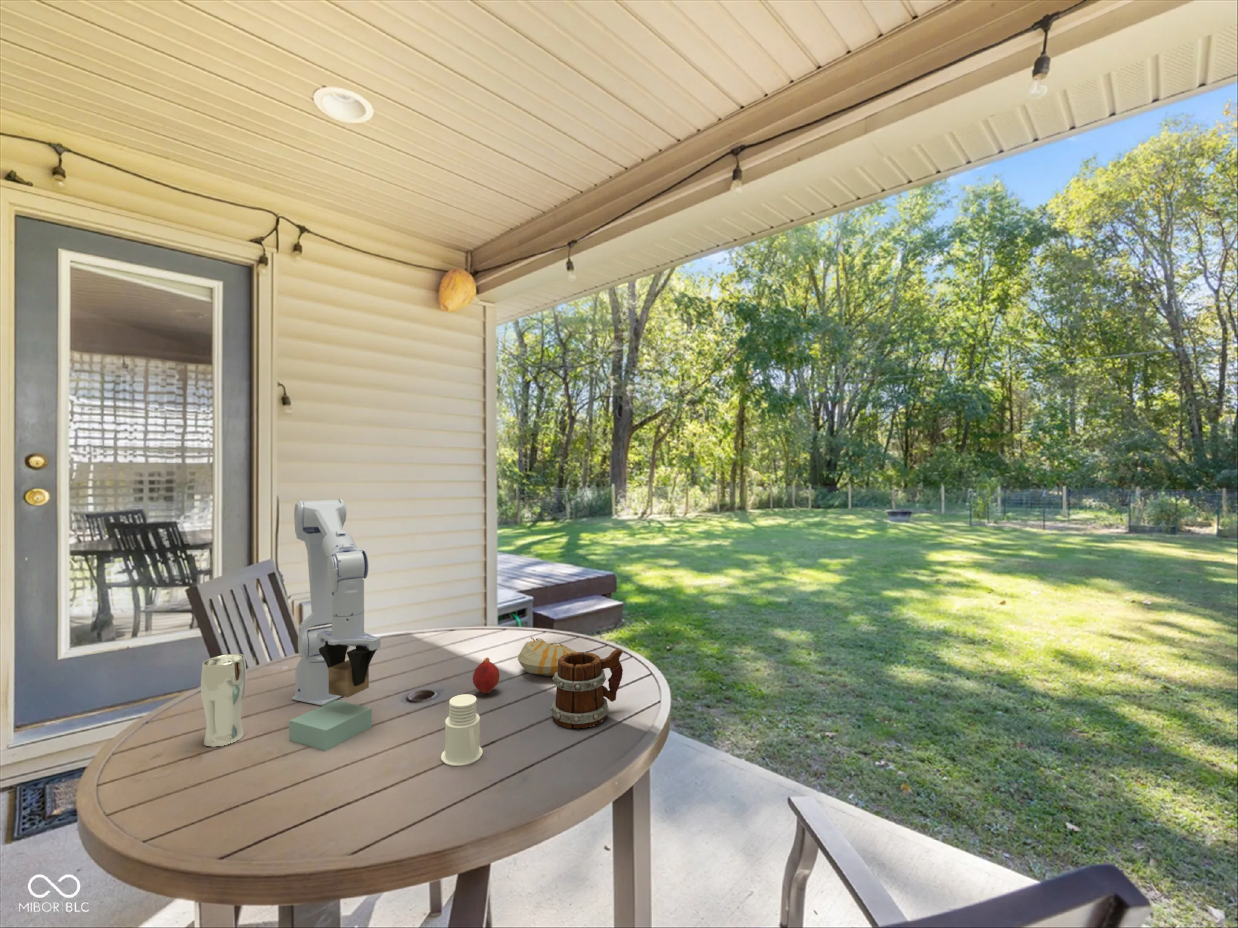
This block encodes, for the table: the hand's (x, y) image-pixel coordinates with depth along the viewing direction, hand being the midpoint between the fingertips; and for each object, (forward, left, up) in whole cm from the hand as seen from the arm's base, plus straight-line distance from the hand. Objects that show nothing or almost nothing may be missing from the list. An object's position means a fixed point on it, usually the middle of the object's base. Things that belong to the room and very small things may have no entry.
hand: (348, 682), depth 107 cm
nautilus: (+21, +41, -9) cm, 47 cm away
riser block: (-1, -3, -9) cm, 10 cm away
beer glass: (-18, -12, -9) cm, 24 cm away
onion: (+16, +23, -9) cm, 29 cm away
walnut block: (0, 0, -2) cm, 2 cm away
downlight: (+28, -1, -9) cm, 29 cm away
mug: (+42, +21, -9) cm, 48 cm away
